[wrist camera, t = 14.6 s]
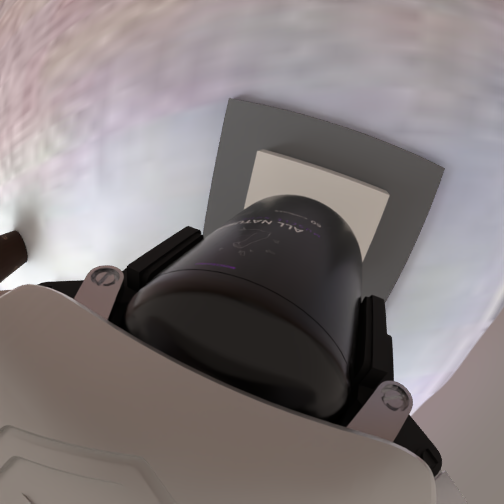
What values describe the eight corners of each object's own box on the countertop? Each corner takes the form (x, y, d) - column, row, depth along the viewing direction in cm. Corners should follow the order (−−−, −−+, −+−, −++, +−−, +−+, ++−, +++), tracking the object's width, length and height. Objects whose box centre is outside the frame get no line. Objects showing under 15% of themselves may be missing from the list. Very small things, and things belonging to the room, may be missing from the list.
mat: (200, 267, 26) (197, 270, 26) (232, 98, 19) (229, 98, 19) (366, 330, 23) (366, 335, 23) (442, 167, 16) (444, 168, 16)
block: (236, 243, 21) (257, 150, 18) (243, 235, 23) (264, 149, 20) (351, 286, 20) (389, 195, 16) (352, 275, 21) (386, 190, 18)
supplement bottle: (302, 160, 12) (38, 344, 2) (387, 277, 13) (381, 553, 3) (204, 242, 16) (23, 400, 5) (282, 333, 16) (187, 527, 6)
